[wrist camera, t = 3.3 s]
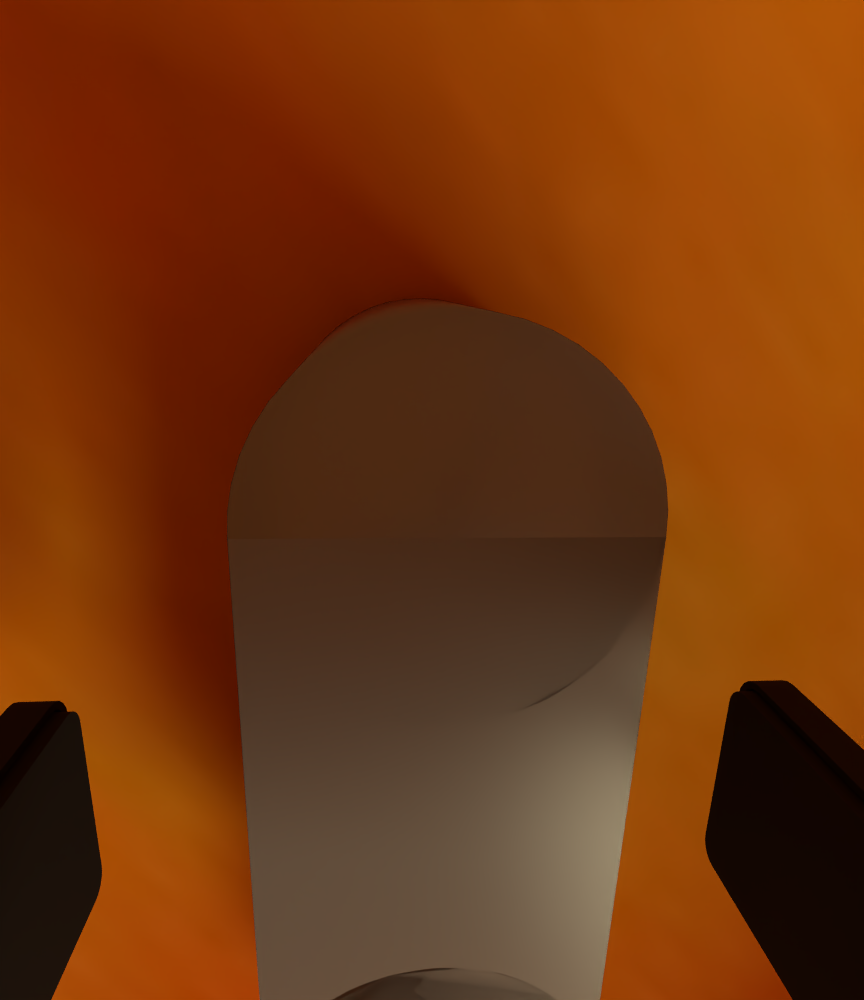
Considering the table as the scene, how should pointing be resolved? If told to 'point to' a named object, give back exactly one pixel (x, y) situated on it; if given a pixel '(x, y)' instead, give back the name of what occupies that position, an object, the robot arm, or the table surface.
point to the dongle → (441, 657)
